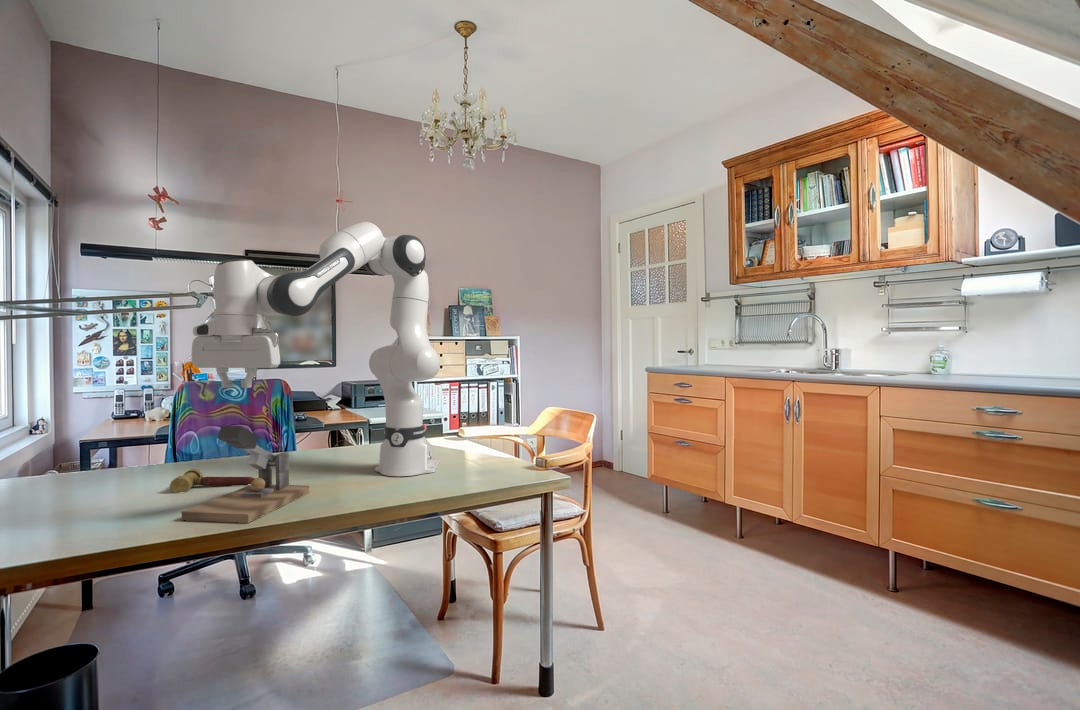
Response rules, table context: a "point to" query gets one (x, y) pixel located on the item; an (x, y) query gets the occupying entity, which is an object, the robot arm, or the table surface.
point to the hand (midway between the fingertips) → (236, 387)
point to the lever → (247, 445)
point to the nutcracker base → (251, 497)
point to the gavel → (204, 481)
